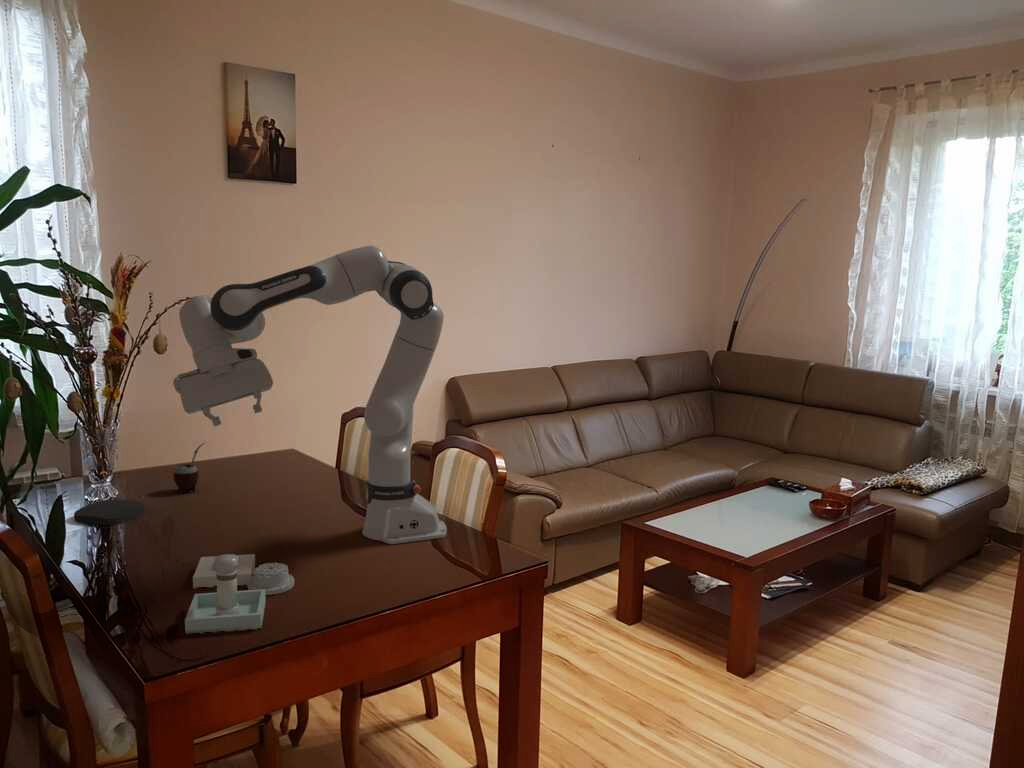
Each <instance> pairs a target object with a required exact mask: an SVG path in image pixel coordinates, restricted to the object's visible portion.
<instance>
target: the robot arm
mask: <svg viewBox="0 0 1024 768" xmlns="http://www.w3.org/2000/svg"><path fill="white" fill-rule="evenodd" d="M372 291H373V292H376V293H377V294H378V295H379V297H381V298H382V299H383V300H384V301H385V302H386V303H387V304H388V305H389V306H391V307H393V308H395V309H397V310H398V311H399V313H400V320H399V325H398V326H397V329H396V330H395V331H396V332H395V334H394V336H393V340H392V343H391V344H390V348H389V350H388V353H387V356H386V358H385V361H384V363H383V366H382V368H381V369H380V372H379V374H378V377H377V379H376V382H375V384H374V386H373V389H372V391H371V393H370V395H369V398H368V400H367V403H366V405H365V409H364V413H363V415H364V417H363V418H364V423H365V426H366V428H367V429H368V430H369V431H370V438H369V439H370V440H369V448H368V457H367V458H368V460H367V461H368V463H367V464H368V465H367V466H368V478H367V479H368V480H367V481H366V487H365V488H366V489H365V491H366V492H365V493H366V495H365V496H366V498H365V499H366V503H367V507H366V513H365V519H364V525H363V528H362V531H361V532H362V535H363V536H364V537H366V538H368V539H371V540H375V541H380V542H383V543H385V544H387V545H388V544H389V545H396V544H403V543H410V542H419V541H426V540H433V539H442V538H444V537H445V536H446V535H447V533H448V531H447V525H446V524H445V522H444V521H443V520H441V519H440V518H439V513H438V511H437V508H436V507H435V506H434V504H433V503H432V502H430V501H429V500H428V499H426V498H424V497H423V496H422V495H420V493H421V491H422V488H421V485H419V484H418V483H417V482H416V480H415V479H411V448H412V439H413V437H412V436H413V425H414V424H413V422H414V403H415V402H416V399H417V396H418V394H419V392H420V390H421V388H422V384H423V382H424V381H425V377H426V375H427V373H428V370H429V367H430V364H431V361H432V359H433V358H434V354H435V352H436V349H437V346H438V343H439V340H440V337H441V334H442V329H443V322H444V316H445V315H444V312H443V310H442V309H441V307H440V306H439V305H437V303H435V302H434V297H433V288H432V284H431V282H430V280H429V278H428V277H427V276H426V275H425V274H424V273H422V272H421V271H419V270H418V269H417V268H416V267H413V266H411V265H408V264H406V263H404V262H399V261H392V260H388V258H387V256H386V255H385V253H384V252H383V250H381V249H380V248H379V247H377V246H375V245H367V246H366V245H365V246H361V247H355V248H351V249H349V250H345V251H343V252H340V253H337V254H335V255H333V256H330V257H328V258H325V259H323V260H320V261H318V262H316V263H313V264H310V265H306V266H303V267H300V268H297V269H294V270H290V271H287V272H284V273H282V274H281V273H280V274H278V275H275V276H272V277H270V278H269V277H268V278H265V279H263V280H260V281H257V282H252V283H233V284H227V285H225V286H222V287H220V288H218V290H217V291H216V292H215V293H214V294H213V296H209V295H207V294H201V295H196V296H194V297H191V298H189V299H188V300H186V301H185V302H184V303H183V305H182V306H181V307H180V309H179V312H178V313H179V321H180V326H181V329H182V333H183V334H184V338H185V339H186V342H187V344H188V345H189V346H190V348H191V351H192V358H193V361H194V363H195V365H196V369H193V370H190V371H187V372H185V373H182V372H181V373H179V374H178V375H177V376H176V377H175V378H174V379H173V381H172V383H173V387H174V390H175V391H176V392H177V393H178V394H180V401H181V405H182V407H183V411H184V412H185V413H187V414H188V415H192V414H195V413H198V412H201V411H202V414H203V415H204V416H205V417H206V418H208V419H209V420H211V422H212V425H213V427H214V428H215V427H218V426H220V425H222V421H221V420H220V416H219V415H217V416H215V415H214V414H212V413H211V408H215V407H218V406H221V405H225V404H227V403H230V402H235V401H237V400H241V399H244V398H249V397H250V396H253V399H255V400H256V404H253V405H252V409H253V413H254V414H259V413H261V412H262V411H263V408H262V407H261V400H262V397H263V396H262V393H265V392H268V391H270V390H271V389H272V387H273V384H274V380H273V378H272V374H271V373H270V371H269V369H268V368H267V366H266V364H265V363H264V361H262V359H259V358H258V351H256V349H255V348H238V347H235V348H234V347H233V346H232V345H233V344H239V343H245V342H249V341H253V340H255V339H257V338H258V337H259V336H260V335H261V334H262V333H263V331H264V329H265V324H266V319H265V315H264V313H263V312H265V311H266V310H270V309H272V308H274V307H277V306H280V305H283V304H287V303H290V302H292V301H295V300H299V299H311V300H313V301H316V302H318V303H320V304H322V305H327V306H332V305H336V304H340V303H344V302H346V301H350V300H351V299H354V298H356V297H358V296H360V295H362V294H364V293H368V292H372Z"/></svg>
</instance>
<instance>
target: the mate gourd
mask: <svg viewBox="0 0 1024 768" xmlns="http://www.w3.org/2000/svg"><path fill="white" fill-rule="evenodd" d="M204 445H205V442H203V443H201V444H200V445H199V446H197V448H196V449H195V450H194V452H193V453H194V454H193V456H192V461H191V463H190V464H189V463H184V464H180V465H177V466H176V468H175V469H174V470H173V480H174V482H175V485H176V486H177V487H178V488H177V491H178V490H180V491H178V494H179V493H183V492H185V491H193V492H195V491H196V487H197V486H196V485H197V483H198V482H199V475H200V474H199V471H198V468H197V466H196V465H195V464H194V463H195V459H196V456H197V454H198V451H199V449H200V448H202V446H204ZM195 493H196V492H195ZM183 494H184V493H183Z"/></svg>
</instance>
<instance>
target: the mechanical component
mask: <svg viewBox="0 0 1024 768" xmlns="http://www.w3.org/2000/svg"><path fill="white" fill-rule="evenodd" d="M246 586H247V588H248V589H247V588H246V589H247V590H261V589H265V592H266V596H271V595H272V594H273V595H278V594H281V593H285V592H287V591H289V590H291V589H292V588H293V587H294V586H295V578H294V576H293V574H291V573H289V565H287V564H285V563H278V562H266V563H262V564H259V565H258V566H257V567H254V571H253V576H252V578H251V579H250V580H249V581H248V583H247V585H246ZM273 595H272V596H273Z"/></svg>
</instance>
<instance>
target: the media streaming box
mask: <svg viewBox="0 0 1024 768" xmlns="http://www.w3.org/2000/svg"><path fill="white" fill-rule="evenodd" d="M143 512H144V513H145V504H144V503H142V502H140V501H136V500H130V499H111V500H110V499H109V500H103V501H97V502H92V503H89V504H87V505H85V506H82V507H81V508H79V509H76V511H74V513H73V516H74V518H73V520H74V522H75V523H77V524H86V525H94V526H95V525H96V526H104V527H105V526H106V525H110V526H116V525H115V524H117V525H120V524H119V523H121V524H123V523H122V522H124V523H126V522H128V521H130V520H129V519H131V518H133V517H135V516H137V515H139V514H141V513H143ZM144 513H143V514H144ZM141 515H142V514H141ZM139 516H140V515H139ZM137 517H138V516H137ZM135 518H136V517H135ZM133 519H134V518H133ZM127 520H128V521H127ZM131 520H132V519H131ZM125 521H126V522H125ZM106 527H107V526H106Z"/></svg>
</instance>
